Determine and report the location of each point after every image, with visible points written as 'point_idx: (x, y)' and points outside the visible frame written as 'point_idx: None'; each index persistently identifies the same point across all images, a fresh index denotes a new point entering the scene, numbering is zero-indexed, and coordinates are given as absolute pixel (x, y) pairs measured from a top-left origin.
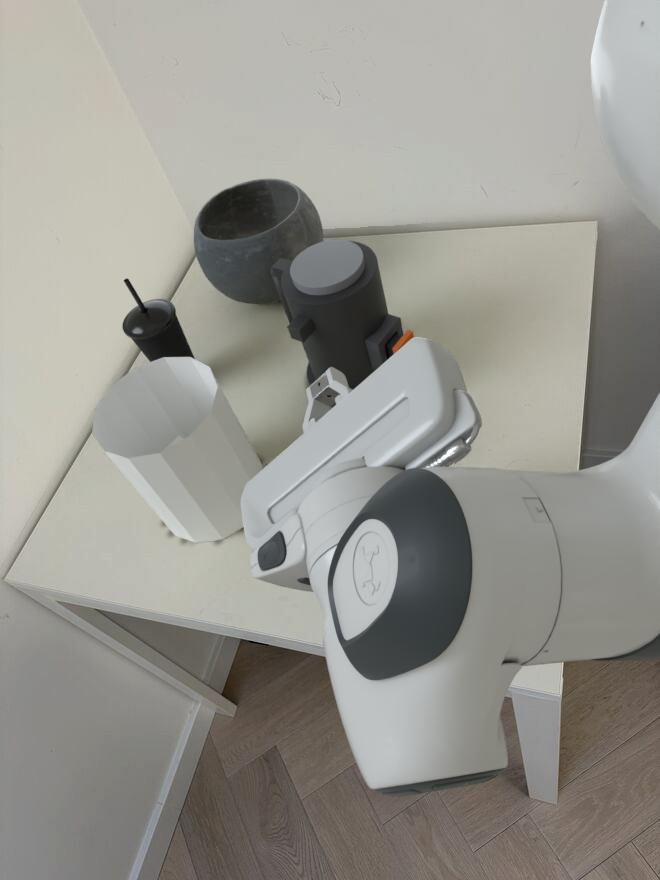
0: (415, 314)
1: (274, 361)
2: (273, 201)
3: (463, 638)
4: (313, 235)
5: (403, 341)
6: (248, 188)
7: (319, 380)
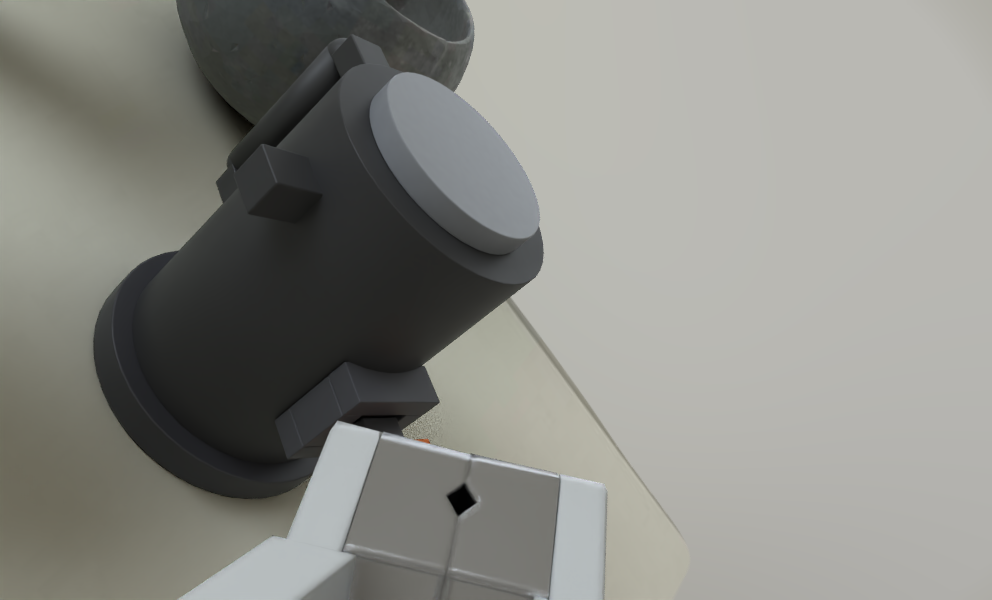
0: None
1: (106, 171)
2: (404, 4)
3: None
4: None
5: None
6: None
7: (479, 480)
